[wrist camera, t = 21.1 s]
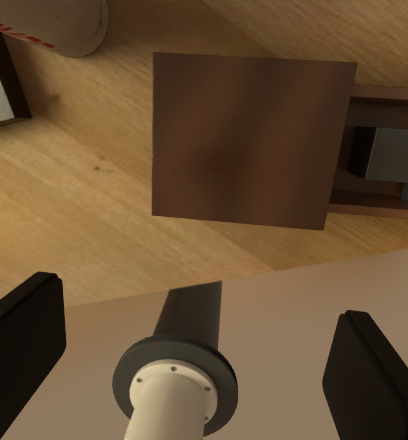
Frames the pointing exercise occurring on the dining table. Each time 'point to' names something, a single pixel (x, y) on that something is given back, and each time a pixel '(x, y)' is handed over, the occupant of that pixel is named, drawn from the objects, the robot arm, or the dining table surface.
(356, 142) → the block
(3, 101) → the cork board
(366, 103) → the drawer
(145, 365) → the robot arm
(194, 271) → the dining table surface
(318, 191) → the cabinet
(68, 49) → the thermos bottle
